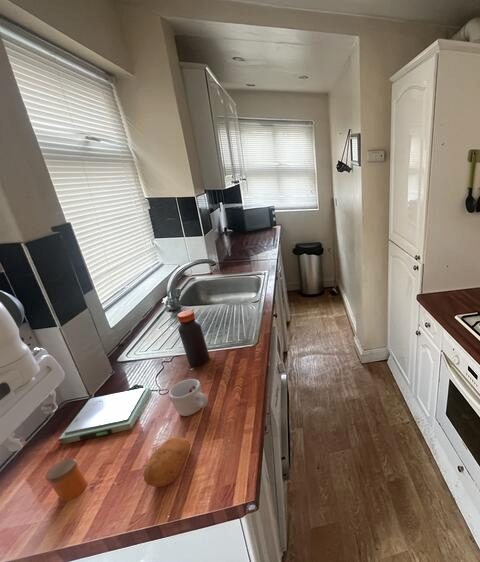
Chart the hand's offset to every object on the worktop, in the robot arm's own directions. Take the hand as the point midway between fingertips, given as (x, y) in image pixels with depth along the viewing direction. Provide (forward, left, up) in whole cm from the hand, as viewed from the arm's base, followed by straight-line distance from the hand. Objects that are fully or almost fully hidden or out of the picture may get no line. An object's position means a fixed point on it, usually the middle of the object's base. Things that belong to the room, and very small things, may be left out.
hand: (36, 428), depth 62 cm
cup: (+21, +18, -19) cm, 34 cm away
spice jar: (0, 0, -19) cm, 19 cm away
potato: (+20, -1, -19) cm, 28 cm away
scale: (-3, +24, -19) cm, 30 cm away
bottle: (+17, +44, -19) cm, 51 cm away
